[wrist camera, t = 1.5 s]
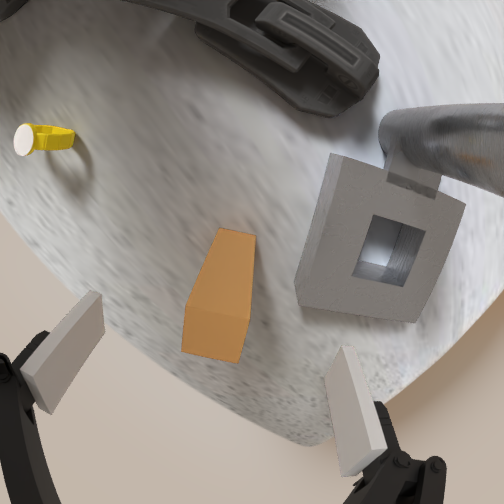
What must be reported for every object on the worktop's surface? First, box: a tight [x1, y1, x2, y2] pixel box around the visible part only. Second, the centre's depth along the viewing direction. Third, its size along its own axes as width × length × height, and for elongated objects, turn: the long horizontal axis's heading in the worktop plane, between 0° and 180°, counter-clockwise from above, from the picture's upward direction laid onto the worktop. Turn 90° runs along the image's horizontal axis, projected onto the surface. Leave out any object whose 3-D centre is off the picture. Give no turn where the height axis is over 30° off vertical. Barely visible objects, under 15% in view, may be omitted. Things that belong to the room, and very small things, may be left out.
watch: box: [14, 123, 75, 156], centre depth 19 cm, size 6×3×6 cm, turn 70°
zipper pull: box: [122, 0, 380, 118], centre depth 14 cm, size 9×7×25 cm
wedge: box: [181, 228, 256, 364], centre depth 20 cm, size 3×3×12 cm
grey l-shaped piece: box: [294, 103, 504, 323], centre depth 14 cm, size 18×12×20 cm
